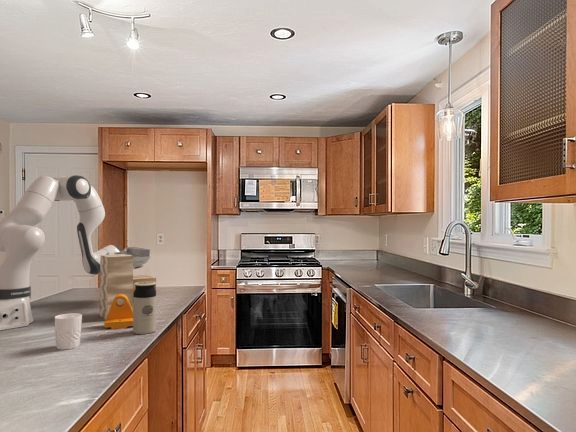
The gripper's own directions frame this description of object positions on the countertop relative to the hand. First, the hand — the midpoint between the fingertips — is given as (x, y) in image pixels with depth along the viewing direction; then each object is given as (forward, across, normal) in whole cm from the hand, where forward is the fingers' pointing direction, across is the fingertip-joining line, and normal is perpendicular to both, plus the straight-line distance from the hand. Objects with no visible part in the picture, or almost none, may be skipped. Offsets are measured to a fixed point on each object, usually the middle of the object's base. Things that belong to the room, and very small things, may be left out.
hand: (132, 249), depth 190 cm
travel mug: (+22, -9, +45) cm, 51 cm away
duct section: (+4, 0, +5) cm, 7 cm away
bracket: (+10, -14, +38) cm, 42 cm away
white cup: (+25, -35, +46) cm, 63 cm away
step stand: (-5, -5, +29) cm, 30 cm away
